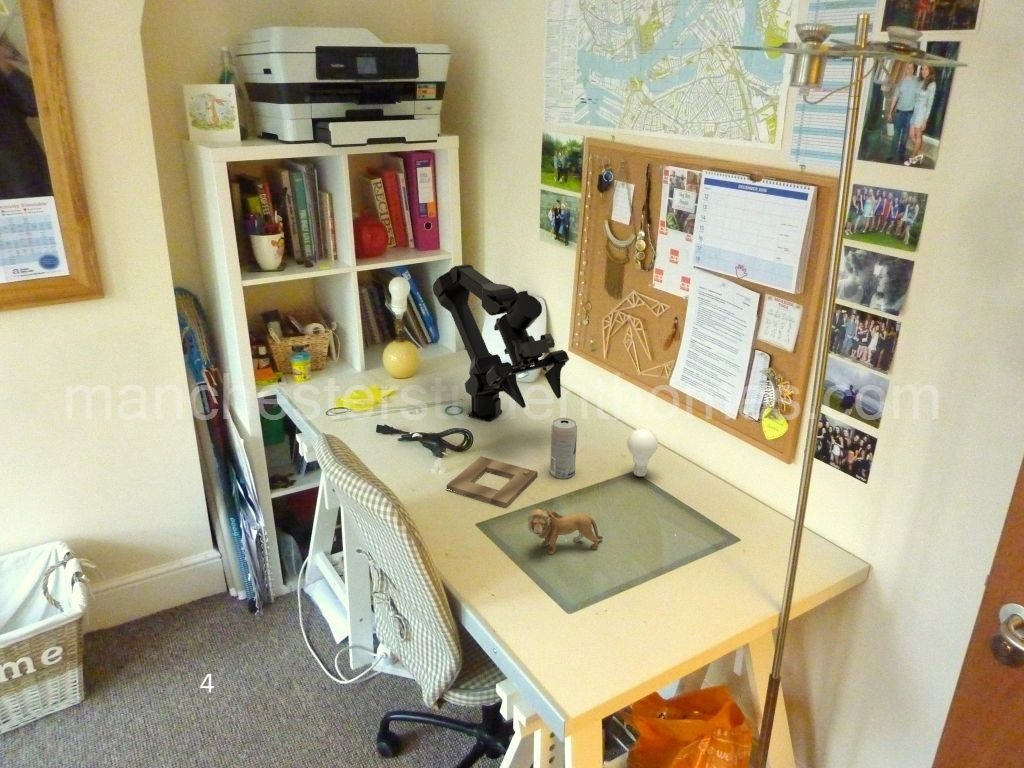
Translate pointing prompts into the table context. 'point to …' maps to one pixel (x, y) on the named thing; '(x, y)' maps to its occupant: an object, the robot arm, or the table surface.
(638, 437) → the lightbulb
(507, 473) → the pocket plate
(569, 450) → the energy drink
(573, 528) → the lion figurine
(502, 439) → the table surface
